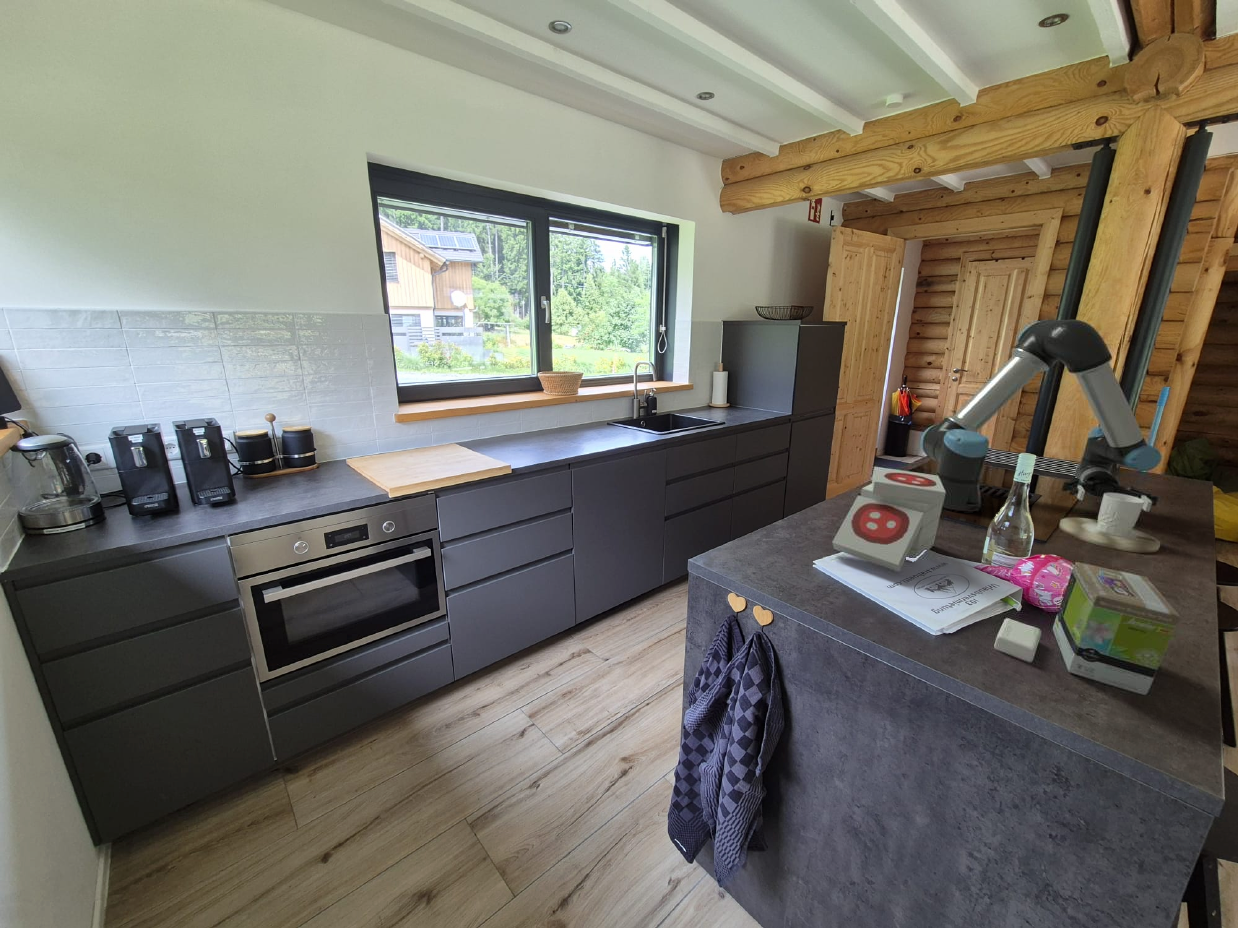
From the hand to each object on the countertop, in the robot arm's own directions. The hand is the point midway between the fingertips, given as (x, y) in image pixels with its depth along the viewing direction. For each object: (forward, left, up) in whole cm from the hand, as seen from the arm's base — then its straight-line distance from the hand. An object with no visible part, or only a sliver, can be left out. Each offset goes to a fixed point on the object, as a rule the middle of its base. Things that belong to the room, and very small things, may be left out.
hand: (1114, 501), depth 138 cm
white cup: (+1, -4, -8) cm, 9 cm away
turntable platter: (0, -5, -9) cm, 10 cm away
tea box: (-14, -77, -10) cm, 79 cm away
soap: (-26, -80, -11) cm, 84 cm away
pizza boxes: (-50, -50, -10) cm, 72 cm away
